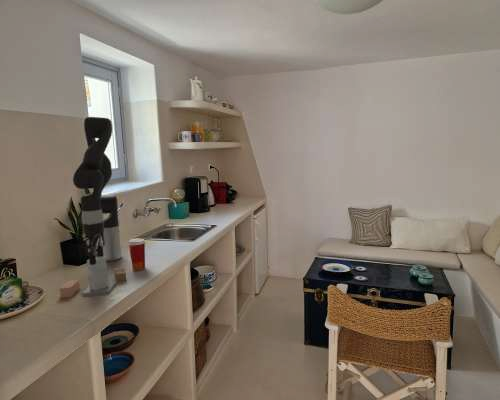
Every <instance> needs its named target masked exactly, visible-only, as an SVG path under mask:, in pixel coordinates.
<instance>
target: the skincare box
mask: <svg viewBox="0 0 500 400" xmlns="http://www.w3.org/2000/svg"><path fill="white" fill-rule="evenodd" d="M86 264H87V272H88V281H89V285H90V289H92V290H94V291H96V290H99V289H102V288H105V287H108V286H109V283H108V282H109V276H108V264H107V261H106V258H104V257H98V256H97V257H96V264H95V265H90V262H89V259H87V260H86Z"/></svg>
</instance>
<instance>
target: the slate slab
mask: <svg viewBox="0 0 500 400" xmlns="http://www.w3.org/2000/svg"><path fill="white" fill-rule="evenodd" d="M108 283H109V286H108V287H105V288H102V289H99V290H96V291H94V290H92V289H90V284H89V285H88V286H87V287H86V289H84V291H83V292H82V293H81V294H82V295H81V296H82V297H89V296H91V297H92V296H103V295H110V294H111V292H112V291H113V289H114V288H115V287H116V285H117V282H116V281H108Z"/></svg>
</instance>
